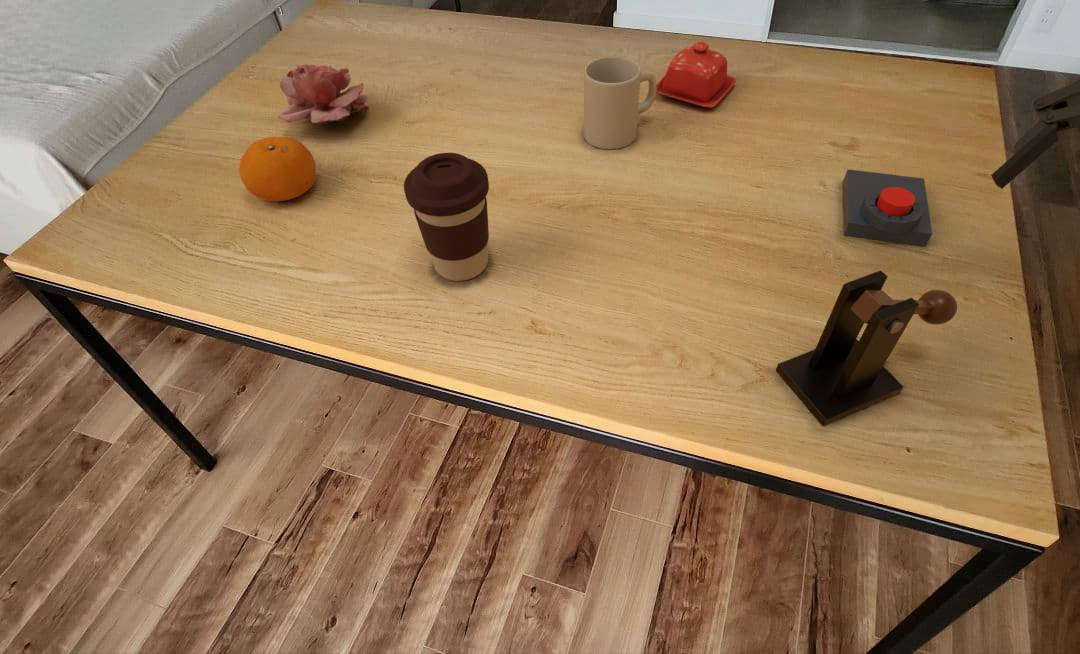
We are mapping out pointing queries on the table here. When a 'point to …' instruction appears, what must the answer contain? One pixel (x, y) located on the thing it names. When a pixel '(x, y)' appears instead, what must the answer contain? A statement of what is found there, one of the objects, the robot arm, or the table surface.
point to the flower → (320, 94)
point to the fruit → (277, 168)
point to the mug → (614, 101)
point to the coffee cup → (451, 213)
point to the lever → (931, 304)
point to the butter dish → (697, 76)
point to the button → (895, 201)
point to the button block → (878, 225)
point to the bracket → (850, 356)
